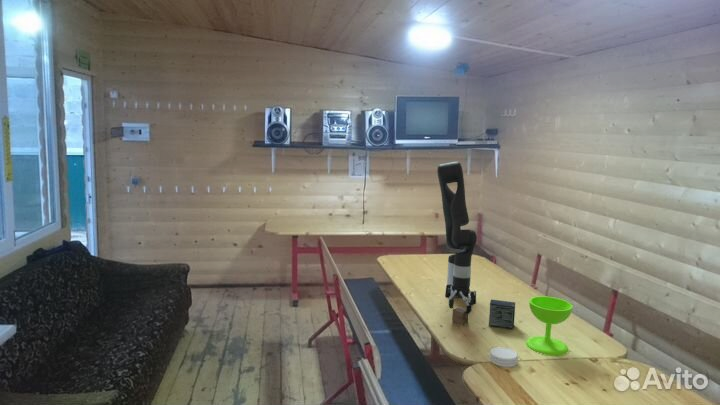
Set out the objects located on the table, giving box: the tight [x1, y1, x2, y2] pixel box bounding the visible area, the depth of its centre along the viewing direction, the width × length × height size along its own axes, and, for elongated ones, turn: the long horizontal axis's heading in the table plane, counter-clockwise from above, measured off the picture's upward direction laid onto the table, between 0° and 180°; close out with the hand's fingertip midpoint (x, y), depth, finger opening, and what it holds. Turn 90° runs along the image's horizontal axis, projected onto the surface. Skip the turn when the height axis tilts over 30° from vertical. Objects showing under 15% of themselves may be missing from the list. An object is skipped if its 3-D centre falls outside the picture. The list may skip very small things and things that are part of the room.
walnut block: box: [451, 306, 470, 327], centre depth 218 cm, size 5×5×6 cm
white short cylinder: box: [489, 346, 519, 368], centre depth 183 cm, size 10×10×4 cm
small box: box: [488, 299, 516, 331], centre depth 216 cm, size 11×6×10 cm, turn 71°
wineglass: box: [525, 295, 574, 357], centre depth 195 cm, size 16×16×18 cm
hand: (459, 310), depth 217 cm, fingers open, 8 cm apart
